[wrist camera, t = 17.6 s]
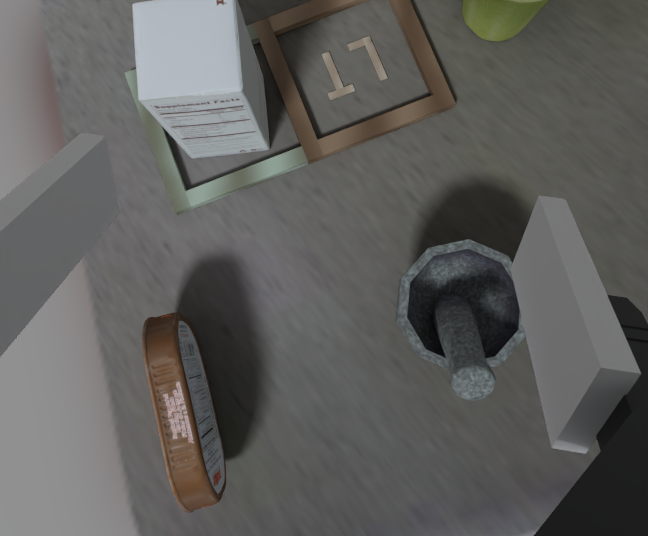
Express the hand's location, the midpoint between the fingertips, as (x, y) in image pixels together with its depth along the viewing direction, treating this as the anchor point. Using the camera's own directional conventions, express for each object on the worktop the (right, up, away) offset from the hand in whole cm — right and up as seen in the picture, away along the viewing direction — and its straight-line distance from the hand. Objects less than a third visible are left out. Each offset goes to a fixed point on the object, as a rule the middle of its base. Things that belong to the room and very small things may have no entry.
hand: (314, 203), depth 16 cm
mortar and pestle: (+11, -6, +29) cm, 32 cm away
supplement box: (-8, +12, +32) cm, 35 cm away
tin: (-10, -13, +29) cm, 34 cm away
